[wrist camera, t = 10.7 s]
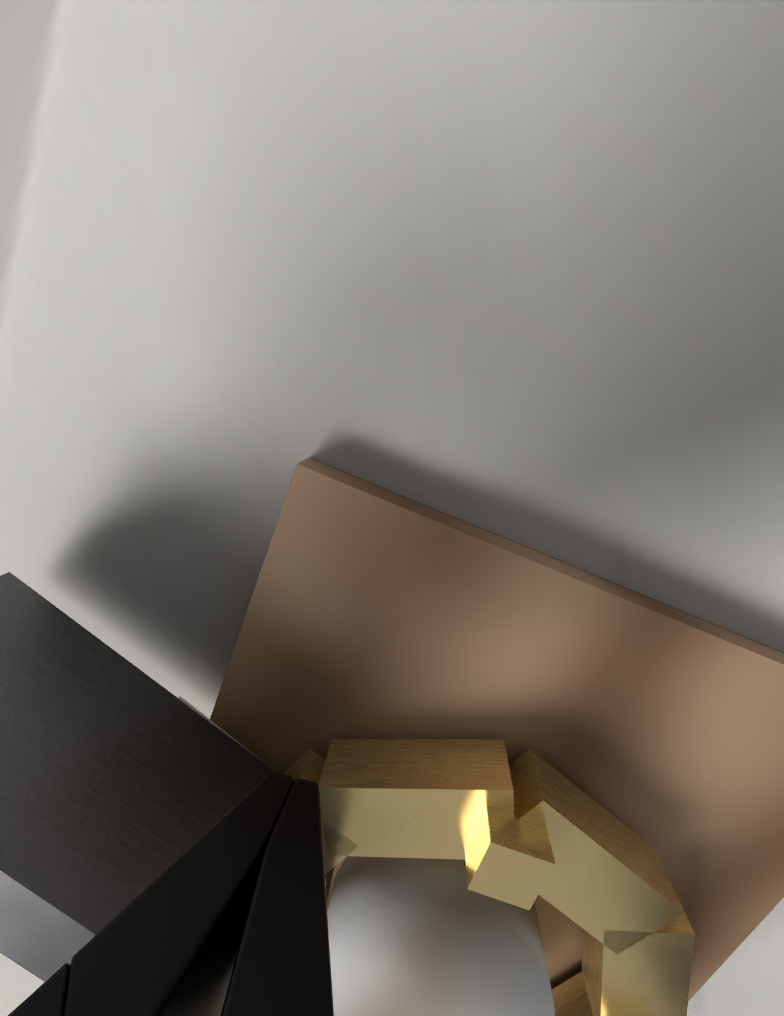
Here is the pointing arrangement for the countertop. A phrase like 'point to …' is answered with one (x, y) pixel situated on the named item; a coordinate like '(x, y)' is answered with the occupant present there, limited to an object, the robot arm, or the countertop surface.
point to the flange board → (503, 734)
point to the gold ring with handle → (344, 816)
